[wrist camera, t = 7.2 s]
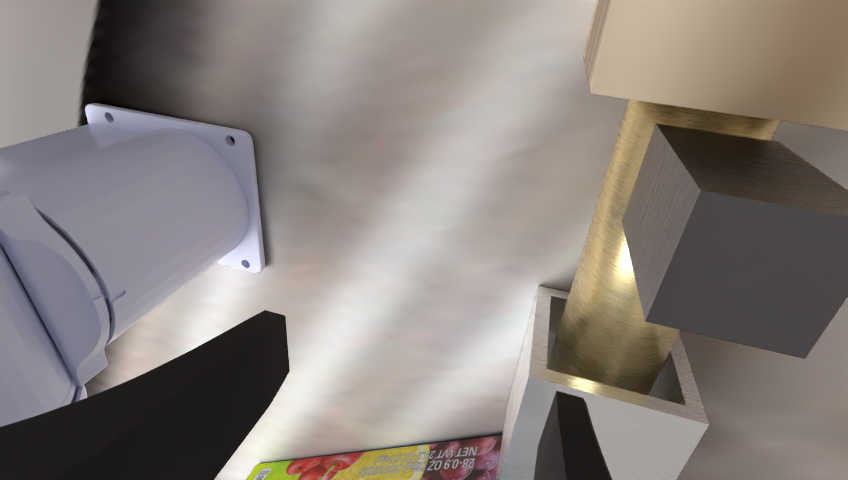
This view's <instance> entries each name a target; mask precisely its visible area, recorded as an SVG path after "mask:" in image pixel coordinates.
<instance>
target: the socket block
mask: <svg viewBox="0 0 848 480" xmlns="http://www.w3.org/2000/svg"><path fill="white" fill-rule="evenodd" d="M583 59H584V64H585V68H586V73H587V77H588V82H589V87H590V91H591V94H596V95H603V96H610V97H617V98H624V99H631V100H638V101H645V102H652V103H659V104H666V105H673V106H680V107H687V108H694V109H701V110H707V111H714V112H721V113H728V114H735V115H742V116H749V117H756V118H763V119H770V120H777V121H784V122H791V123H798V124H805V125H812V126H819V127H826V128H833V129H840V130H847V131H848V0H598V1H597V5H596V9H595V13H594V17H593V21H592V25H591V29H590V33H589V37H588V41H587V46H586V50H585V54H584V58H583Z"/></svg>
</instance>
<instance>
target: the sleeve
mask: <svg viewBox="0 0 848 480" xmlns="http://www.w3.org/2000/svg"><path fill="white" fill-rule="evenodd" d="M568 297H569V292H565V291H560V290H556V289H551V288H547V287H543V286H538V289H537V292H536V296H535V300H534V304H533V308H532V311H531V315H530V319H529V323H528V327H527V330H526V334H525V338H524V342H523V346H522V350H521V353H520V357H519V361H518V365H517V369H516V372H515V376H514V380H513V384H512V388H511V391H510V395H509V399H508V403H507V410H506V416H505V423H504V429H503V436H502V443H501V449H500V456H499V462H498V469H497V476H496V480H534V473H535V465H536V457H537V449H538V444H539V441H540V438H541V435H542V432H543V429H544V426H545V423H546V420H547V417H548V414H549V411H550V408H551V405H552V402H553V399H554V396H555V393H556V391H560V392H564V393H567V394H571V395H574V396H578V397H582V398H583V399H584V400H585V402H586V404H587V408H588V411H589V415H590V418H591V422H592V425H593V428H594V431H595V434H596V437H597V440H598V443H599V446H600V448H601V451H602V454H603V457H604V459H605V462H606V465H607V467H608V470H609V472H610V475H611V477H612V480H676V479H677V477H678V476H679V474H680V472H681V471H682V469H683V467H684V466H685V464H686V462H687V461H688V459H689V457H690V456H691V454H692V452H693V451H694V449H695V447H696V446H697V444H698V443H699V441H700V439H701V438H702V436H703V434H704V433H705V431H706V429H707V428H708V426H709V422H708V419H707V416H706V413H705V410H704V407H703V404H702V401H701V397H700V394H699V391H698V388H697V385H696V382H695V379H694V376H693V373H692V370H691V367H690V364H689V361H688V357H687V354H686V351H685V348H684V345H683V342H682V339H681V336H680V333H678V335H677V337H676V339H675V341H674V343H673V345H672V347H671V349H670V351H669V353H668V355H667V358H666V360H665V362H664V364H663V366H662V368H661V370H660V372H659V374H658V376H657V378H656V380H655V383H654V385H653V387H652V389H651V391H650V393H649V395H648V396H647V395H643V394H640V393H636V392H632V391H628V390H624V389H620V388H617V387H613V386H609V385H605V384H601V383H598V382H594V381H590V380H586V379H582V378H579V377H575V376H571V375H567V374H563V373H559V372H556V371H552V370H548V369H546V368H547V365H548V362H549V358H550V355H551V352H552V349H553V345H554V342H555V339H556V336H557V332H558V329H559V326H560V323H561V319H562V316H563V313H564V310H565V306H566V303H567V300H568Z"/></svg>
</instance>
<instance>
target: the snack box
mask: <svg viewBox="0 0 848 480" xmlns="http://www.w3.org/2000/svg"><path fill="white" fill-rule="evenodd" d="M502 436H503V435H499V436H491V437H483V438H475V439H467V440H460V441H451V442H443V443H435V444H426V445H418V446H409V447H400V448H392V449H384V450H375V451H367V452H358V453H350V454H341V455H332V456H323V457H314V458H306V459H298V460H289V461H279V462H270V463H259V464H257V465H256V466H255V467H254V469H253V470H252V472H251V473H250V475H249V476H248V478H247V479H246V480H496V476H497V469H498V462H499V456H500V449H501V443H502Z"/></svg>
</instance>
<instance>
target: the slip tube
mask: <svg viewBox="0 0 848 480" xmlns="http://www.w3.org/2000/svg"><path fill="white" fill-rule="evenodd" d="M779 123H780V121H777V120H770V119H763V118H756V117H749V116H742V115H735V114H728V113H721V112H714V111H707V110H701V109H694V108H687V107H680V106H673V105H666V104H659V103H652V102H645V101H638V100H631V99H629V102H628V105H627V108H626V111H625V115H624V118H623V121H622V124H621V128H620V131H619V134H618V137H617V141H616V144H615V147H614V150H613V154H612V157H611V160H610V163H609V167H608V170H607V173H606V176H605V180H604V183H603V186H602V189H601V193H600V196H599V199H598V202H597V206H596V209H595V212H594V215H593V219H592V222H591V225H590V228H589V232H588V235H587V238H586V241H585V245H584V248H583V251H582V254H581V258H580V261H579V264H578V267H577V271H576V274H575V277H574V280H573V284H572V287H571V290H570V293H569V297H568V300H567V303H566V306H565V310H564V313H563V316H562V319H561V323H560V326H559V329H558V332H557V336H556V339H555V342H554V345H553V349H552V352H551V355H550V358H549V362H548V365H547V368H546V369H548V370H552V371H556V372H559V373H563V374H567V375H571V376H575V377H579V378H582V379H586V380H590V381H594V382H598V383H601V384H605V385H609V386H613V387H617V388H620V389H624V390H628V391H632V392H636V393H640V394H643V395H647V396H648V395H649V393H650V391H651V389H652V387H653V385H654V383H655V380H656V378H657V376H658V374H659V372H660V370H661V368H662V366H663V364H664V362H665V360H666V358H667V355H668V353H669V351H670V349H671V347H672V345H673V343H674V341H675V339H676V337H677V335H678V333H679V331H680V330H683V331H687V332H692V333H696V334H700V335H705V336H709V337H713V338H717V339H722V340H726V341H730V342H735V343H739V344H743V345H748V346H752V347H756V348H760V349H765V350H769V351H773V352H778V353H782V354H786V355H791V356H795V357H799V358H803V359H805V358H806V356H807V355H808V353H809V352H810V351H811V349H812V348H813V346H814V345H815V343H816V342H817V340H818V339H819V337H820V336H821V335H822V333H823V332H824V330H825V329H826V327H827V326H828V324H829V323H830V321H831V320H832V319H833V317H834V316H835V314H836V313H837V311H838V310H839V308H840V307H841V305H842V304H843V303H844V301H845V300H846V298H847V297H848V191H847V190H846V189H845V188H843V187H842V186H840V185H839V184H838V183H836V182H835V181H833V180H832V179H830V178H829V177H828V176H826V175H825V174H823V173H822V172H820V171H819V170H818V169H816V168H815V167H813V166H812V165H811V164H809V163H808V162H806V161H805V160H803V159H802V158H801V157H799V156H798V155H796V154H795V153H793V152H792V151H791V150H789V149H788V148H786V147H785V146H784V145H782V144H781V143H779V142H776V141H771V139H772V137H773V135H774V133H775V131H776V129H777V127H778V125H779Z"/></svg>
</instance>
